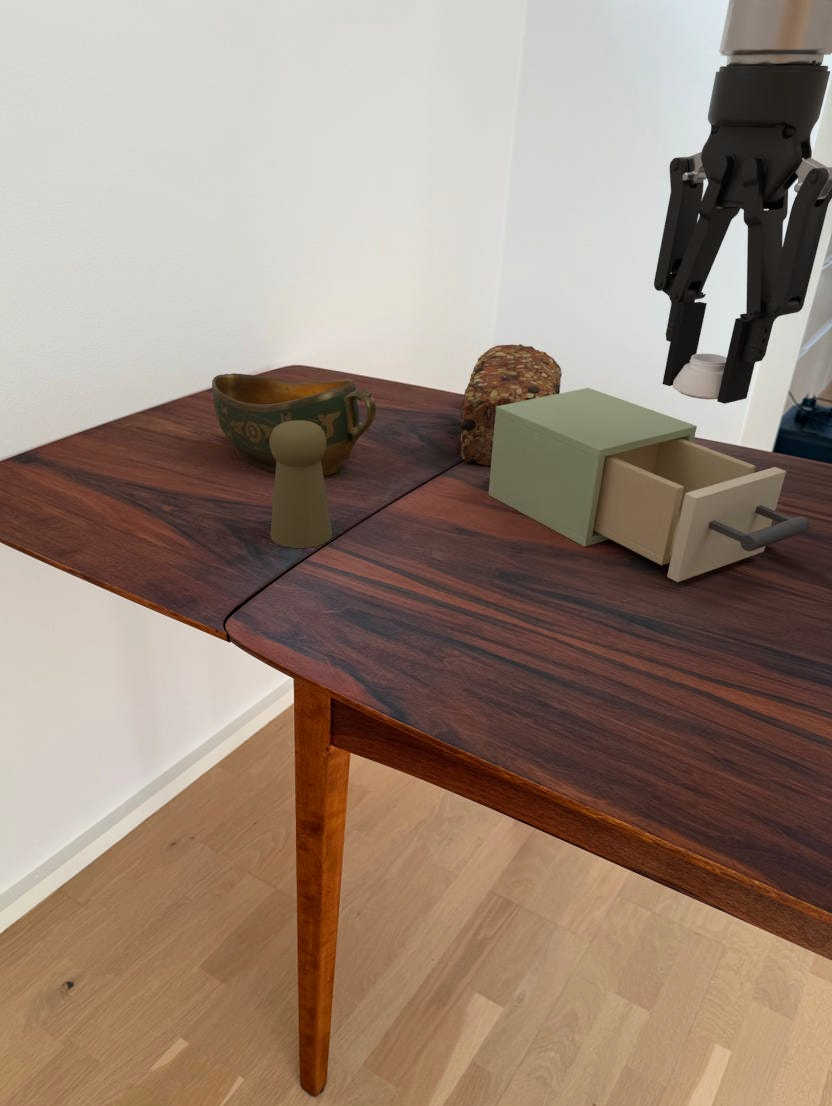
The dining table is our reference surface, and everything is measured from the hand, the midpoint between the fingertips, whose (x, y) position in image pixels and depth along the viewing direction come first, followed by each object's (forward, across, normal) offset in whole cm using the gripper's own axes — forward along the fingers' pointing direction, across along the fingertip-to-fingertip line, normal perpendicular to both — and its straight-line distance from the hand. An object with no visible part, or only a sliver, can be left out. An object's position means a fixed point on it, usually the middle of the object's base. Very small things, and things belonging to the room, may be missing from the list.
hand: (703, 390), depth 74 cm
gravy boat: (+15, +39, +19) cm, 46 cm away
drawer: (+14, -1, 0) cm, 14 cm away
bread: (+15, +31, -6) cm, 35 cm away
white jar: (0, 0, 0) cm, 0 cm away
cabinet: (+15, +12, 0) cm, 19 cm away
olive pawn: (+15, +21, +28) cm, 38 cm away
